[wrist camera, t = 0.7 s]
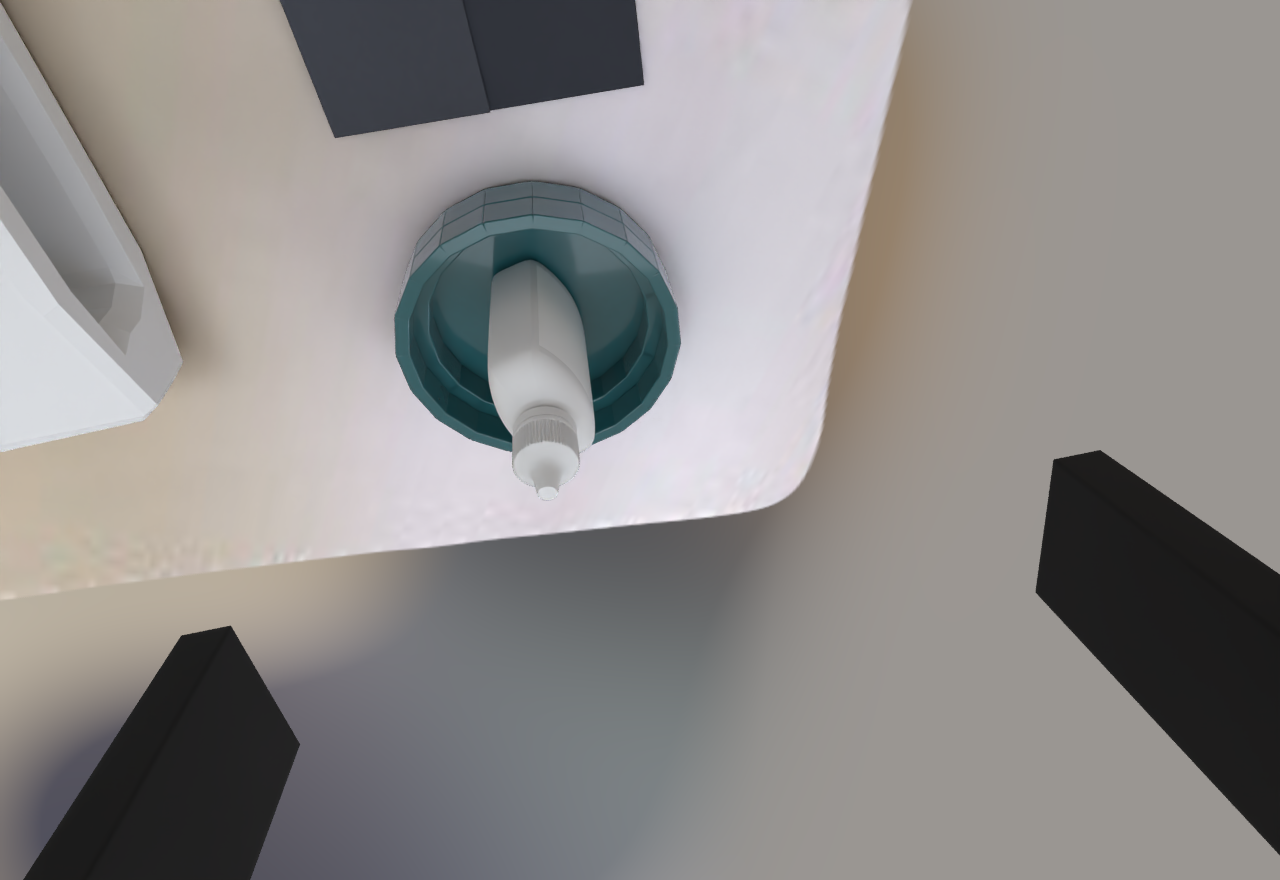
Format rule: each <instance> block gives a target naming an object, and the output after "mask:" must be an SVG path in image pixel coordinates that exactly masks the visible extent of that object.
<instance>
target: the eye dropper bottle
mask: <svg viewBox="0 0 1280 880" xmlns="http://www.w3.org/2000/svg"><path fill="white" fill-rule="evenodd" d="M488 379H489V386H490V391H491V395H492V399H493V402H494V405H495V407H496V410H497V412H498V414H499V416H500V418H501V420H502V422H503V424H504V425H505V427H506V428H507V430H508V431H509V432H510V433H511V435H512V436H513V437H512V468H513V471H514V473H515V475H516V476H517V477H518V478H519V480H521V481H522V482H524V483H525V484H527V485H529V486H532V487H535V488H536V492H537V495H538V497H539V498H540V499H542V500H545V501H549V500H553V499H555V498H556V497H557V494H558V490H559V486H561V485H564V484H565V483H567V482H569V481H570V480H571V479H573V477H575V475H576V473H577V472H578V470H579V467H580V466H579V465H580V457H579V453H581V452H583V451H585V450H587V449H588V448H589V447H590V446H591V445H592V443H593V440H594V436H595V419H594V409H593V400H592V392H591V383H590V375H589V367H588V359H587V351H586V342H585V335H584V329H583V324H582V320H581V317H580V314H579V311H578V308H577V306H576V304H575V302H574V300H573V298H572V296H571V295H570V293H569V292H568V290H567V289H566V287H565V286H564V285H563V284H562V282H561V281H560V280H559V279H558V278H557V277H556V276H555V275H554V274H553V273H552V272H551V271H550V270H548V269H547V268H546V267H545V266H543V265H542V264H540V263H539V262H537V261H534V260H525V261H522V262H520V263H517V264H515V265H513V266H511V267H509V268H506V269H504V270H502V271H500V272H498V273H497V274H496V275H495V276H494V277H493V280H492V285H491V301H490V319H489V339H488Z"/></svg>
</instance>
